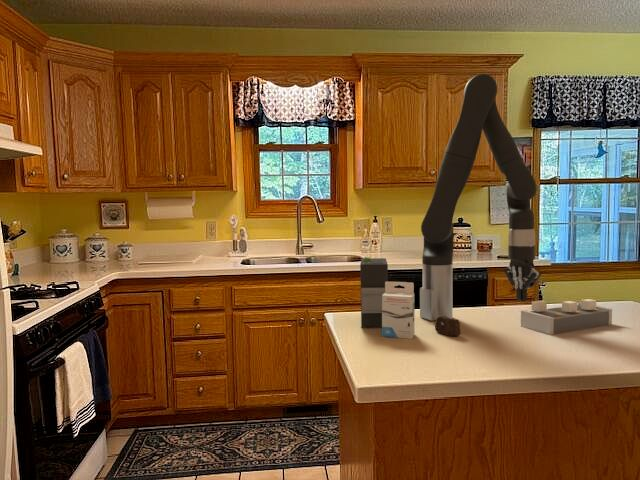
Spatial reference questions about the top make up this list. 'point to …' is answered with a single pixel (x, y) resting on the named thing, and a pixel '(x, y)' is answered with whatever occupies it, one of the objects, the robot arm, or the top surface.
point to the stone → (448, 326)
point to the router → (372, 290)
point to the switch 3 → (588, 304)
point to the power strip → (565, 319)
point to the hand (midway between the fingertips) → (521, 300)
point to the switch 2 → (569, 306)
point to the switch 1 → (539, 306)
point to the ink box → (398, 310)
